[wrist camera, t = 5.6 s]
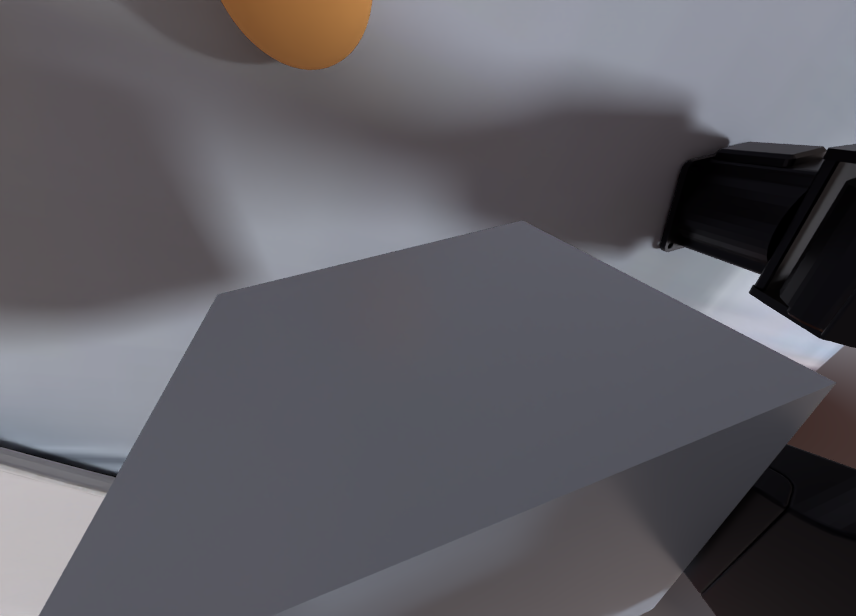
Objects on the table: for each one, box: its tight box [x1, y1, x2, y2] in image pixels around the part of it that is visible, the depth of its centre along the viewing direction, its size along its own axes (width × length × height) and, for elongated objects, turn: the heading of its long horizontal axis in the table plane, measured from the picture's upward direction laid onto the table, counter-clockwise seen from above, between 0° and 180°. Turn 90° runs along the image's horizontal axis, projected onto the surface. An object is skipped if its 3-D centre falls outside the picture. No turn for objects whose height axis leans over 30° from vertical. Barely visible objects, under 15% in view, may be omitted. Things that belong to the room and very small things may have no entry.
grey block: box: [39, 220, 836, 616], centre depth 7 cm, size 8×8×6 cm
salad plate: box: [0, 447, 115, 616], centre depth 22 cm, size 21×21×3 cm
